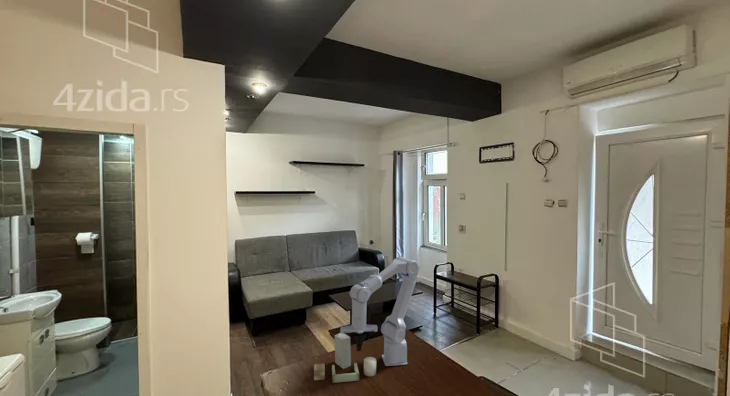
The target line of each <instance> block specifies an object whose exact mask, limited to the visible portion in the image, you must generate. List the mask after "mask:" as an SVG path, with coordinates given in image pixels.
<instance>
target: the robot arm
mask: <svg viewBox="0 0 730 396" xmlns="http://www.w3.org/2000/svg"><path fill="white" fill-rule="evenodd" d="M419 270H420V266H419V264H418V261H416V260H415V259H410V258H407V257H404V256H397V257H396V258H394V259H393V260H392V262H391V264H389V265H388V266H386V267H385V268H384V269H383V270H382V271H380V272H379V273H378V274H374V273H373V274H370V275H369V276H368V278H366V279H364V280H363V281H361V282H360V283H359V284H358V283H356V284H354V285H353V286H352V287H350V291H348V293H349V296H350V298H351V304H352V305H351V324H349V325H346V326H340V333H341V334H346V333H347V334H350V333H352V337H353V339H354V342H355V345H356V351H357V352H362V347H363V345H364V341H365V339H366V338H367V332H374V333H376V332H378V325H377V324H368V323H367V308H368V307H367V302H369V299H370V297H371V295H372V294H373V293H374V292H376V291H378V289H380V288H382V285H383V282H385V281H387V280H388V279H389V278H391V277H393V276H394V275H396V274H400V276H401V278H402V283H401V285H400V289H399V291H398V294H397V297H396V301H395V303H394V306H393V308H392V312H391V314H390V315H388V316H386V318H385V320H384V322H383V323H382V324H381V327H380V332H381V334H382V335H383V339H384V341H383V342H384V343H383V347H384V348H383V354H382V355H381V358H382V360H383V364H384V366H385V367H390V366H402V365H403V366H406V365H408V346H407V341H406V339H405V337H406V330H407V325H406V323H405V320H404V319H405V316H406V314H407V310H408V307H409V304H410V302H411V298H412V295H413V292H414V289H415V287H416V283H417V281H418V280H417V278H418V277H417V276H418V274H419Z"/></svg>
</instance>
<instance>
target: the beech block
mask: <svg viewBox="0 0 730 396" xmlns="http://www.w3.org/2000/svg"><path fill="white" fill-rule="evenodd" d="M313 365H314V366H313V380H314V381H320V380H321V381H322V380H325V377H326V375H325V374H326V373H325V371H326V367H325V366H326V365H325V363H316V364H313Z"/></svg>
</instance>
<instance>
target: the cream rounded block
mask: <svg viewBox="0 0 730 396" xmlns="http://www.w3.org/2000/svg"><path fill="white" fill-rule="evenodd" d="M376 374H377V358H375V357H373V356H366V357H365V358H364V359H363V375H364V376H367V377H373V376H376Z"/></svg>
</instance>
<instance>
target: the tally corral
mask: <svg viewBox="0 0 730 396" xmlns="http://www.w3.org/2000/svg"><path fill="white" fill-rule="evenodd" d="M353 366H354V367H353V371H354V372H349V373H337V374H336V369H335V367H336V366H335V364H332V365H331V375H332V377H331V380H332V383H333V384H334V383H336V384H337V383H343V382H344V383H345V382H356V381H358V382H359V381H360V372H359V367H358V364H357V362H354V364H353Z"/></svg>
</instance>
